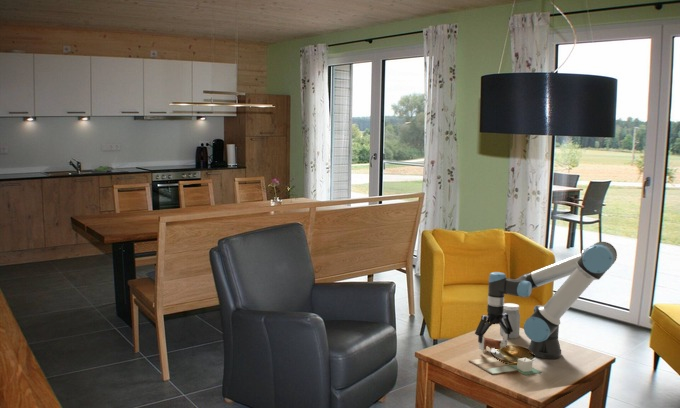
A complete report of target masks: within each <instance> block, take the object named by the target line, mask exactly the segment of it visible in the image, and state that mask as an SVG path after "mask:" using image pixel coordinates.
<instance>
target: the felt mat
mask: <svg viewBox="0 0 680 408" xmlns="http://www.w3.org/2000/svg"><path fill="white" fill-rule="evenodd" d="M508 365H509V364H508ZM510 366H512V367H514V368H516V369H517V365H510ZM517 370H519V369H517ZM517 372H518V373H520V374H522V375H524V376H529V375H535V374H541V373H542V371H541V370H539V369H536V368H534V367H532V371H527V372H523V371H521V370H519V371H517Z"/></svg>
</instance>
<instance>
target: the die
mask: <svg viewBox="0 0 680 408" xmlns="http://www.w3.org/2000/svg"><path fill="white" fill-rule="evenodd" d="M517 361H518V363H517V369H519V370H521V371H523V372H527V371H532V368H533V360H531V359H530V358H527V357H522V358H517Z"/></svg>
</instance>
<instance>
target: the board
mask: <svg viewBox="0 0 680 408" xmlns="http://www.w3.org/2000/svg"><path fill="white" fill-rule="evenodd" d="M496 358H497V357H495V358H494V356H491V357H483V358H476V359H470V360H468V362H469V363H470V364H473V365H474V366H476V367H477V368H479V369H481V370H483V371H484V372H486V373H488V374H490V375H491V376H495V375H496V376H497V375H502V374H509V373H517V372H518V371H519V370H517V369H516V368H514V367H512V366H510V365H508V364H505V363H506V362H504V361H502V360H500V359H498V358H497V359H498V360H497V359H496ZM499 360H500V361H499ZM501 361H502V362H501ZM503 362H504V363H503Z"/></svg>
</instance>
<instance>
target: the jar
mask: <svg viewBox="0 0 680 408" xmlns="http://www.w3.org/2000/svg"><path fill="white" fill-rule="evenodd" d="M503 306H504V310H503V313H506V314H508V319H509V322H510V324H511V327H512V330H513V332H511V334H509V339H517V338H519V337H520V328H521V327H520V326H521V324H520V323H521V314H520V304H516V303H514V302H513V303H512V302H506V303H505V302H504V305H503ZM502 321H503V323H504V325H505V326H506V324H505V322H504V319H503V318H502ZM499 326H500V325H499ZM503 333H505V332H504V330H503V329H502V327H501V326H500V327H499V335H500V336H501V337H503Z"/></svg>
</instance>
